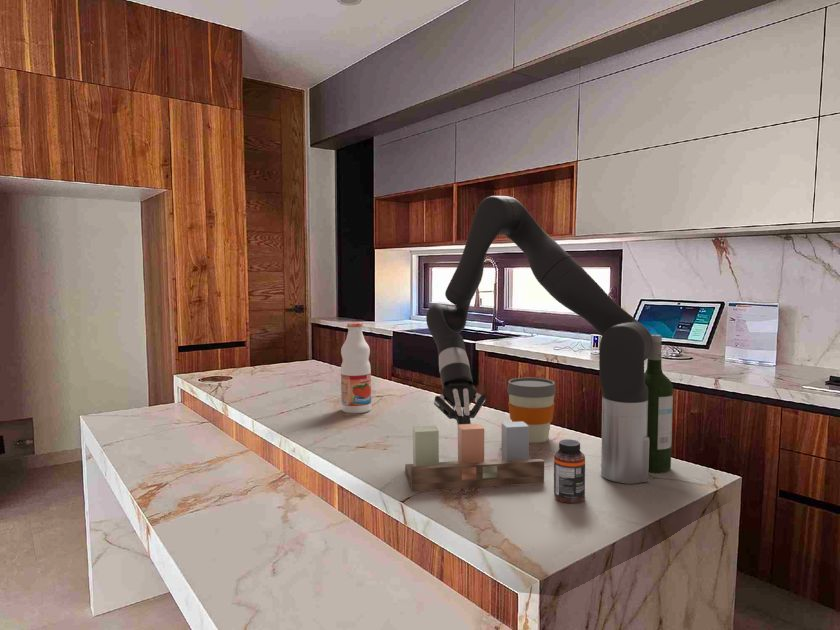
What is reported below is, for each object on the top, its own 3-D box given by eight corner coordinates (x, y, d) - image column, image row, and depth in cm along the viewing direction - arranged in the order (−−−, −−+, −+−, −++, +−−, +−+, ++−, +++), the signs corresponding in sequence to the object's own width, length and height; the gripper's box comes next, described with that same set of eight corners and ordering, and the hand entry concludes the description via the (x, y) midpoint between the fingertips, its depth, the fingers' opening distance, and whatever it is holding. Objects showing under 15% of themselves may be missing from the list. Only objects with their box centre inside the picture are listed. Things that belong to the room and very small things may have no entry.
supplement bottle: (561, 489, 117) (562, 435, 116) (589, 497, 113) (590, 441, 112) (548, 499, 112) (548, 442, 112) (577, 507, 109) (577, 448, 108)
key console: (525, 463, 133) (525, 443, 132) (544, 483, 121) (544, 461, 120) (405, 470, 129) (405, 450, 128) (412, 491, 117) (412, 469, 116)
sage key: (435, 465, 127) (435, 425, 126) (438, 471, 123) (438, 430, 122) (413, 466, 126) (412, 426, 126) (415, 473, 122) (415, 431, 122)
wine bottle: (639, 459, 135) (642, 332, 132) (675, 466, 130) (679, 334, 127) (627, 468, 129) (630, 335, 126) (664, 476, 124) (668, 338, 121)
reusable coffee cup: (555, 446, 145) (556, 387, 144) (505, 443, 148) (506, 386, 146) (554, 432, 157) (555, 378, 156) (508, 429, 160) (508, 376, 159)
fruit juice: (353, 405, 190) (351, 321, 187) (377, 408, 185) (375, 322, 183) (335, 411, 182) (333, 323, 179) (360, 415, 177) (358, 325, 175)
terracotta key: (479, 462, 128) (479, 423, 128) (484, 469, 125) (484, 428, 124) (457, 464, 128) (457, 424, 127) (461, 470, 124) (461, 429, 123)
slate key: (522, 460, 130) (523, 421, 129) (528, 466, 126) (529, 426, 125) (501, 461, 129) (501, 422, 128) (506, 467, 125) (506, 427, 124)
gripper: (430, 362, 138) (439, 426, 127) (483, 360, 140) (497, 423, 129) (426, 379, 144) (435, 442, 133) (478, 377, 146) (490, 439, 135)
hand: (465, 432), depth 131 cm, fingers closed
